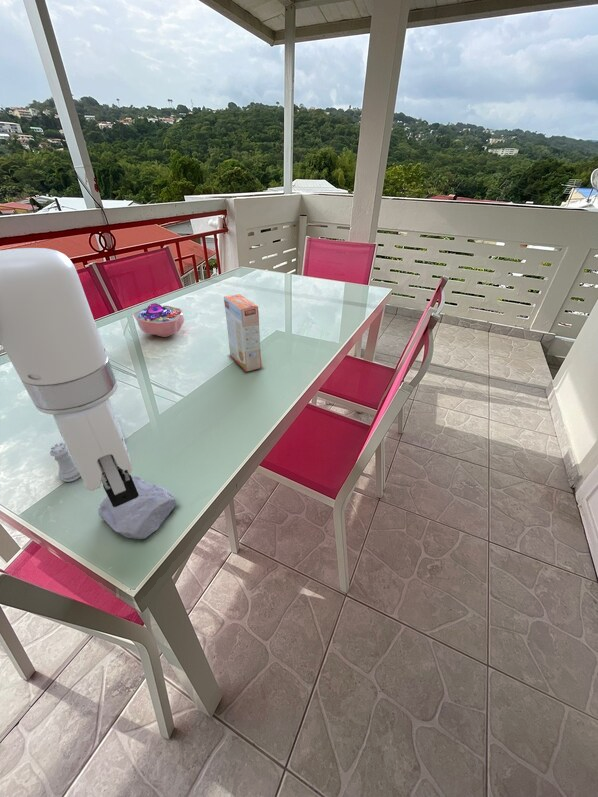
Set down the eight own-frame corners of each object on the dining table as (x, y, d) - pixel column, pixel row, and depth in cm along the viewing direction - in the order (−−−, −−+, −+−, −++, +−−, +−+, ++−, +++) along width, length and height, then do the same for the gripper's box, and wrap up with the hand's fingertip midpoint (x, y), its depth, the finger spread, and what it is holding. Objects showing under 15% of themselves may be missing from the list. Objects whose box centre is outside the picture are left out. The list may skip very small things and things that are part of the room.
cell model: (150, 348, 119) (142, 318, 112) (133, 331, 132) (125, 303, 125) (194, 336, 128) (189, 308, 121) (175, 321, 140) (169, 294, 134)
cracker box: (262, 368, 108) (259, 305, 96) (245, 373, 105) (239, 309, 93) (245, 351, 118) (240, 292, 106) (229, 355, 115) (222, 295, 103)
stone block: (145, 550, 58) (182, 501, 64) (133, 539, 54) (172, 488, 60) (99, 526, 62) (137, 482, 68) (85, 514, 59) (126, 469, 65)
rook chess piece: (55, 481, 68) (38, 453, 64) (71, 465, 72) (56, 438, 67) (75, 484, 68) (59, 456, 63) (89, 468, 71) (75, 440, 67)
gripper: (25, 363, 37) (84, 475, 47) (33, 434, 27) (106, 557, 37) (99, 346, 41) (139, 454, 51) (130, 403, 31) (172, 523, 41)
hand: (125, 497), depth 44 cm, fingers closed
